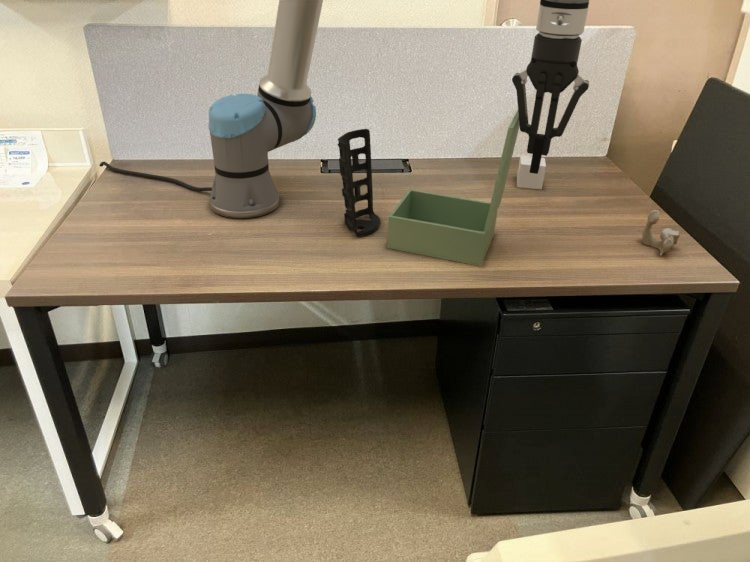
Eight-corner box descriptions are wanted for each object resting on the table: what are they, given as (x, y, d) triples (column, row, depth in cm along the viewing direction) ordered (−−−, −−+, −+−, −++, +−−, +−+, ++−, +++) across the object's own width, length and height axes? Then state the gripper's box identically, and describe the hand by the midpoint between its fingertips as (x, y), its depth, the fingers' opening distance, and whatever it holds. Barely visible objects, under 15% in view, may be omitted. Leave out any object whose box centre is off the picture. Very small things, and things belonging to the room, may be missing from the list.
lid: (508, 127, 101) (513, 128, 101) (520, 105, 113) (524, 105, 113) (484, 231, 112) (488, 232, 112) (496, 201, 124) (500, 202, 124)
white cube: (516, 178, 155) (520, 155, 151) (540, 180, 154) (544, 157, 151) (517, 187, 150) (520, 164, 146) (541, 189, 149) (546, 166, 146)
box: (387, 248, 122) (388, 216, 118) (407, 218, 133) (409, 189, 129) (481, 266, 116) (485, 233, 113) (494, 234, 128) (498, 204, 124)
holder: (375, 238, 124) (368, 144, 114) (339, 238, 126) (329, 144, 115) (383, 216, 133) (377, 127, 123) (350, 215, 135) (341, 127, 125)
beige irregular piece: (696, 251, 120) (683, 213, 116) (667, 268, 121) (653, 230, 116) (670, 234, 128) (657, 197, 123) (643, 250, 129) (629, 213, 124)
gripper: (515, 34, 97) (495, 172, 110) (599, 42, 93) (569, 183, 106) (521, 27, 103) (502, 158, 116) (601, 34, 99) (572, 168, 112)
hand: (534, 170), depth 111 cm, fingers closed
